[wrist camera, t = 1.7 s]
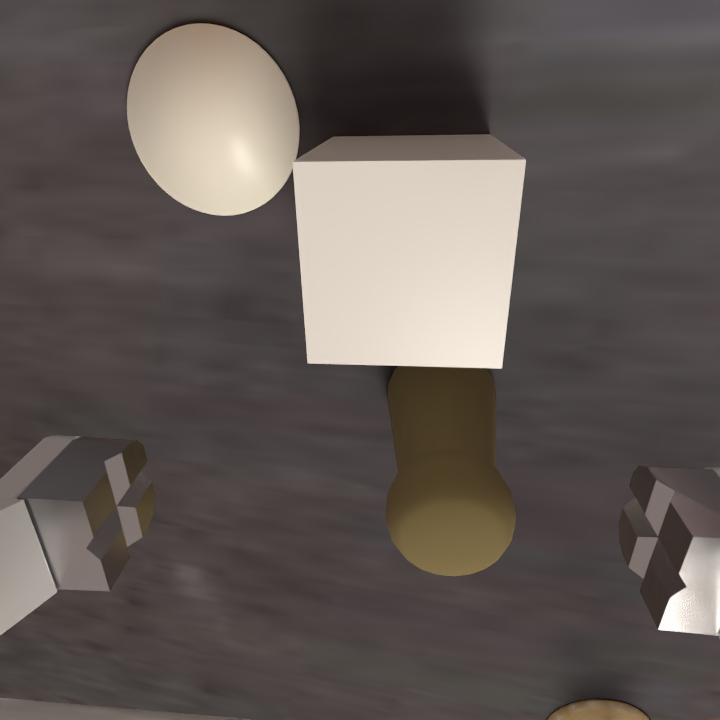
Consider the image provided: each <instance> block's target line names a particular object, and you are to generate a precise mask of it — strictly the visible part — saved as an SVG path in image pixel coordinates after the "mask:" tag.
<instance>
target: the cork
mask: <svg viewBox="0 0 720 720" xmlns="http://www.w3.org/2000/svg"><path fill="white" fill-rule="evenodd" d="M387 399H388V406H389V413H390V419H391V426H392V433H393V440H394V446H395V453H396V460H397V466H398V474H397V476H396V478H395V480H394V481H393V483H392V485H391V487H390V490H389V492H388V496H387V507H386V517H385V518H386V522H387V526H388V530H389V533H390V536H391V539H392V542H393V543H394V544H395V545H396V547H397V548H398V549H399V550H400V552H401V553H402V554H403V555H404V557H405V558H406V559H407V560H408V561H409V562H411V563H412V564H414V565H415V566H417V567H418V568H420V569H422V570H425V571H428V572H431V573H434V574H438V575H447V576H459V575H468V574H472V573H475V572H478V571H481V570H483V569H486V568H487V567H489V566H490V565H492V564H493V563H494V562H496V561H497V560H498V559H499V558H500V556H501V555H502V554H503V552H504V551H505V550H506V548H507V547H508V545H509V544H510V542H511V540H512V536H513V532H514V528H515V522H516V513H515V508H514V503H513V498H512V494H511V491H510V489H509V488H508V486H507V485H506V483H505V481H504V480H503V478H502V477H501V475H500V474H499V472H498V471H497V469H496V468H495V467H496V391H495V385H494V380H493V377H492V375H491V374H490V372H489V370H488V369H487V368H461V367H424V366H398V367H397V368H396V369H395V370H394V372H393V374H392V376H391V379H390V381H389V383H388V394H387Z"/></svg>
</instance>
